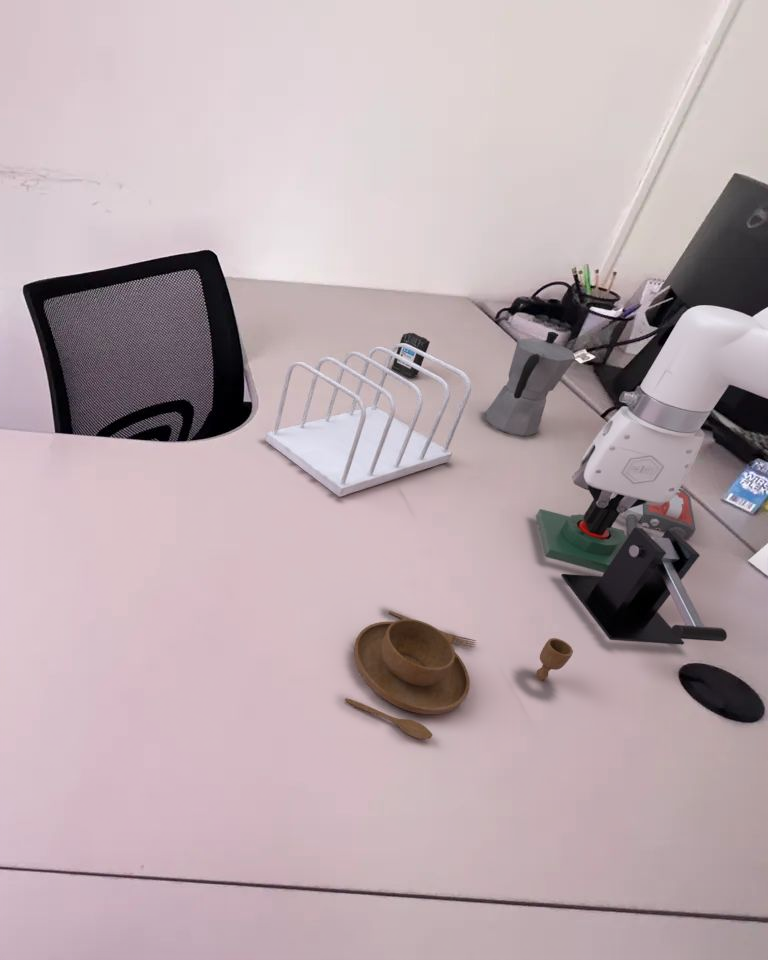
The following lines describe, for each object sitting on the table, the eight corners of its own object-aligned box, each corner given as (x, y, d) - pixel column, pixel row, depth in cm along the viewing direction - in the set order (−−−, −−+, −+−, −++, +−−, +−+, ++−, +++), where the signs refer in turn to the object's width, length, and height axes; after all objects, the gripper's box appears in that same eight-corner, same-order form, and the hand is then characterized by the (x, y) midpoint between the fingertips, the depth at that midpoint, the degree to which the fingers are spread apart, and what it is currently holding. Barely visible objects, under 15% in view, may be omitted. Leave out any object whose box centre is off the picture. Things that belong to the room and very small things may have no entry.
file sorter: (370, 414, 123) (398, 334, 114) (449, 463, 111) (486, 378, 102) (264, 441, 111) (285, 354, 103) (338, 499, 99) (369, 406, 91)
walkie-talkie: (618, 485, 110) (618, 548, 96) (632, 462, 108) (634, 524, 93) (681, 505, 107) (691, 574, 92) (697, 482, 104) (710, 550, 90)
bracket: (679, 649, 80) (739, 576, 73) (606, 644, 80) (660, 570, 73) (623, 584, 89) (672, 514, 82) (557, 580, 89) (601, 509, 82)
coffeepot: (496, 403, 131) (536, 315, 121) (547, 422, 126) (593, 332, 116) (467, 428, 122) (508, 335, 111) (521, 450, 117) (569, 354, 106)
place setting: (371, 601, 82) (386, 565, 79) (550, 677, 75) (575, 640, 71) (330, 701, 69) (346, 664, 66) (542, 805, 62) (572, 768, 58)
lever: (715, 645, 73) (733, 636, 71) (671, 642, 73) (688, 633, 71) (666, 549, 81) (680, 538, 79) (625, 546, 80) (639, 535, 78)
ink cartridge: (390, 368, 141) (402, 332, 136) (397, 367, 142) (409, 331, 137) (410, 378, 137) (423, 342, 133) (417, 376, 138) (430, 340, 134)
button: (600, 534, 94) (606, 524, 93) (605, 549, 91) (612, 539, 90) (571, 527, 95) (577, 517, 94) (576, 542, 92) (582, 532, 91)
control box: (615, 541, 97) (629, 520, 95) (632, 586, 89) (648, 563, 87) (533, 520, 99) (545, 498, 97) (542, 561, 92) (556, 539, 89)
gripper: (605, 408, 80) (537, 527, 91) (749, 440, 77) (661, 561, 87) (593, 383, 86) (530, 498, 97) (726, 412, 83) (646, 528, 93)
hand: (593, 527), depth 92 cm, fingers closed
